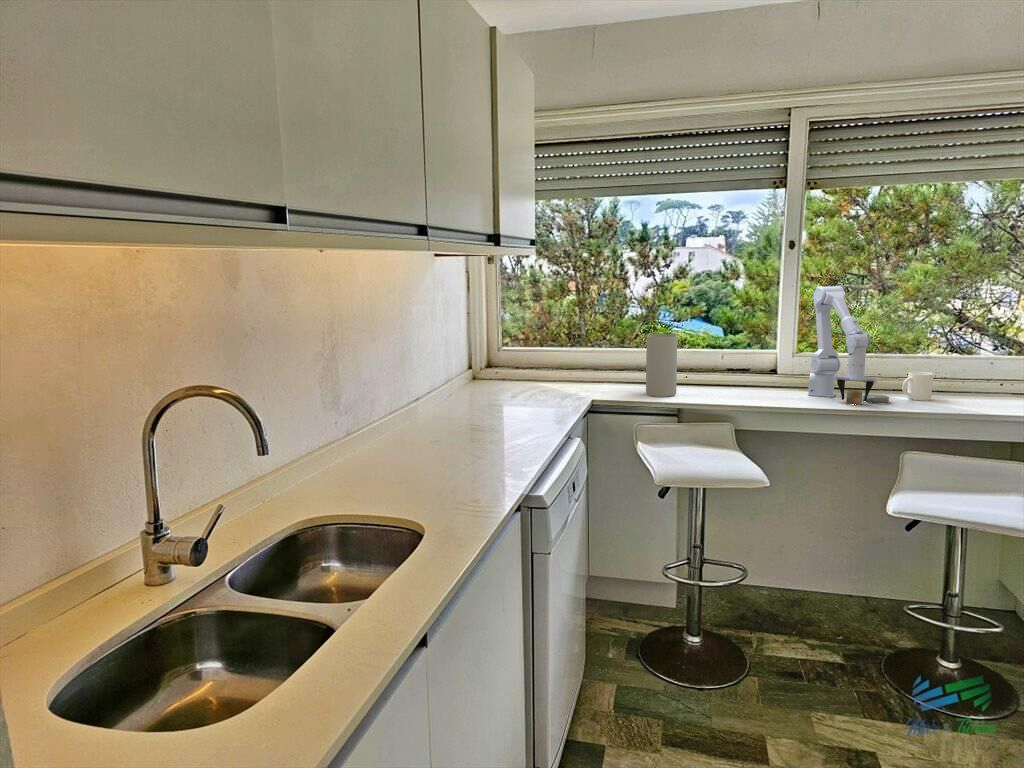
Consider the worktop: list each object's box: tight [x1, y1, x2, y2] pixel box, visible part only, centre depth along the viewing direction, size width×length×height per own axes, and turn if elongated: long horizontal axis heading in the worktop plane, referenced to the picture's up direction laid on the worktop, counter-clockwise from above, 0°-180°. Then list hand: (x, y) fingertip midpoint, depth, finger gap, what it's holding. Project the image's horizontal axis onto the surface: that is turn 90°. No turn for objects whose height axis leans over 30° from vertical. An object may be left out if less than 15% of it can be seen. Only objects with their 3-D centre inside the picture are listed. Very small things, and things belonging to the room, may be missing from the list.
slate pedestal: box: [862, 393, 890, 404], centre depth 262 cm, size 9×9×2 cm
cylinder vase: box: [645, 333, 678, 398], centre depth 283 cm, size 12×12×25 cm
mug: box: [901, 371, 934, 401], centre depth 264 cm, size 12×8×10 cm
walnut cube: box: [845, 389, 863, 406], centre depth 258 cm, size 5×5×5 cm
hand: (854, 400), depth 259 cm, fingers open, 7 cm apart
